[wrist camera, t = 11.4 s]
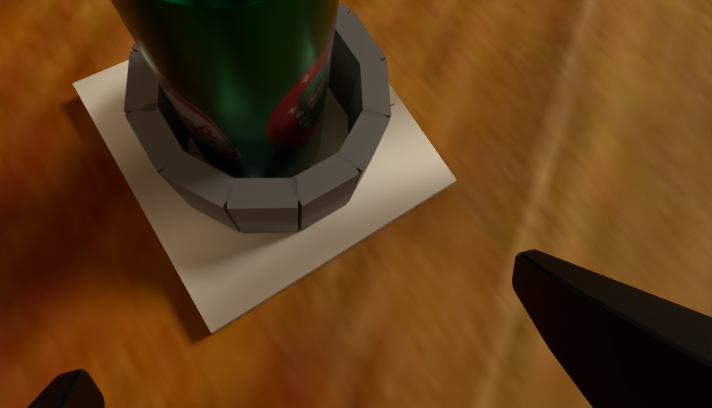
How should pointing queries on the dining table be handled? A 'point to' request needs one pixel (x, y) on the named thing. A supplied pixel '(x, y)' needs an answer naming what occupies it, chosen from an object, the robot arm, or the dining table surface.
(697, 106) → the dining table surface
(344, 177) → the collar socket
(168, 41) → the soda can
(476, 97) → the dining table surface
